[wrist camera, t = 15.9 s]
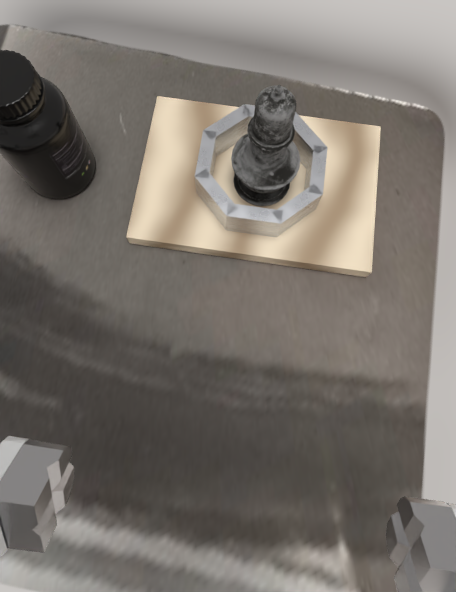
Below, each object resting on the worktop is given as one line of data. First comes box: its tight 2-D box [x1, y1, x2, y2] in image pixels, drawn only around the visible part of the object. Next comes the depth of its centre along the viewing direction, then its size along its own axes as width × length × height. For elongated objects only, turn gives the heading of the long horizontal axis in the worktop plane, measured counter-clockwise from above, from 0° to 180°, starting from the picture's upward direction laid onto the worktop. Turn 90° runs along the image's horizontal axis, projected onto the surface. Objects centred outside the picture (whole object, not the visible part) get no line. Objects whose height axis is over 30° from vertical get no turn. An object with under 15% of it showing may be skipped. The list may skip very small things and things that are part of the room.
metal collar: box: [195, 104, 328, 237], centre depth 37 cm, size 11×11×3 cm
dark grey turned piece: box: [231, 85, 300, 206], centre depth 33 cm, size 6×6×12 cm
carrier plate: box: [126, 96, 381, 277], centre depth 39 cm, size 22×15×2 cm
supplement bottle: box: [0, 50, 95, 199], centre depth 34 cm, size 7×7×12 cm
